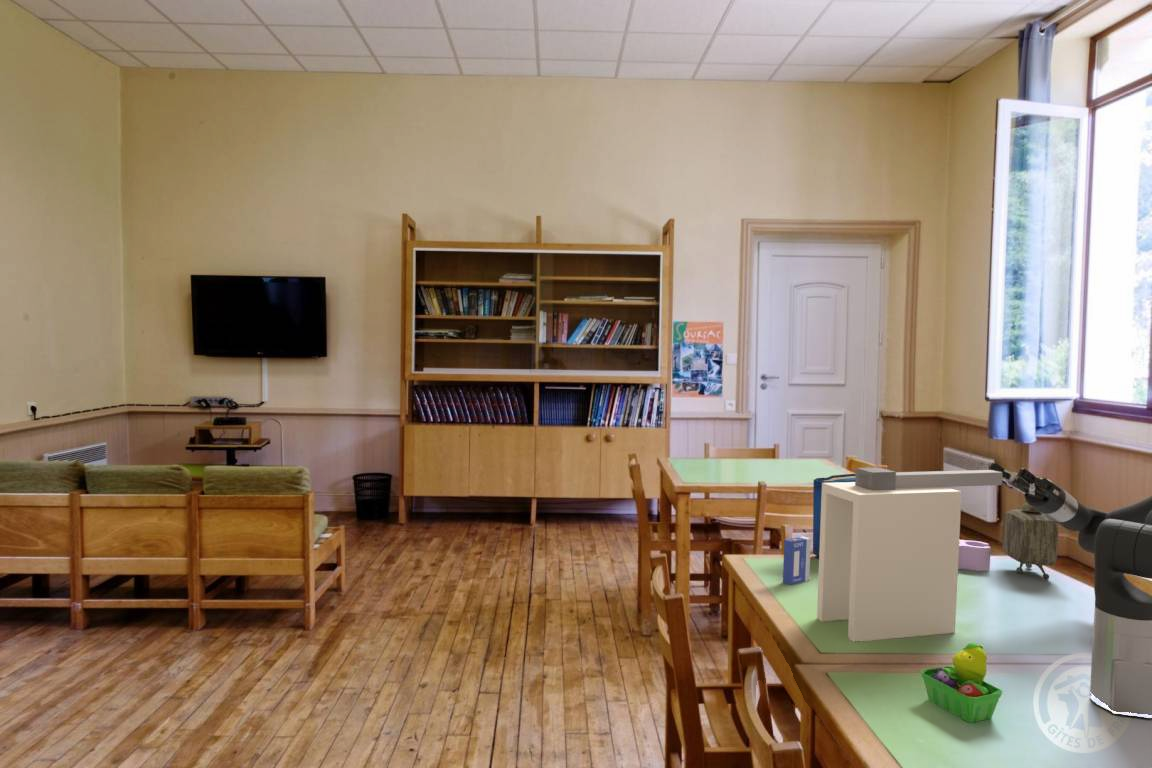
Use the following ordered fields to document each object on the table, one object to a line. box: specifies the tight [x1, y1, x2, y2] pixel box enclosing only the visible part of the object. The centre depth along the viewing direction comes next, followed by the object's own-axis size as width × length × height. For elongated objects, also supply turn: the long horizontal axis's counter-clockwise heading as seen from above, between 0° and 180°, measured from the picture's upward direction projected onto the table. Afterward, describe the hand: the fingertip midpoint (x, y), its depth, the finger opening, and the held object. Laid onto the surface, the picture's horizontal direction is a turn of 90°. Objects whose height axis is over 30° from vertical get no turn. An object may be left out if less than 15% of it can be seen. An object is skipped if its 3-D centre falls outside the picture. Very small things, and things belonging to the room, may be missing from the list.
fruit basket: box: [920, 642, 1003, 724], centre depth 130 cm, size 11×9×11 cm
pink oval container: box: [958, 538, 992, 572], centre depth 219 cm, size 20×12×7 cm, turn 68°
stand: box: [816, 482, 963, 643], centre depth 168 cm, size 26×14×32 cm, turn 104°
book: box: [812, 473, 856, 558], centre depth 224 cm, size 22×7×25 cm, turn 105°
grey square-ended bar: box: [855, 467, 1003, 490], centre depth 170 cm, size 36×6×4 cm, turn 104°
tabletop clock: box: [1001, 502, 1059, 580], centre depth 211 cm, size 14×9×25 cm, turn 171°
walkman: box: [782, 535, 812, 586], centre depth 200 cm, size 8×3×12 cm, turn 123°
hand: (1005, 468), depth 175 cm, fingers open, 8 cm apart
